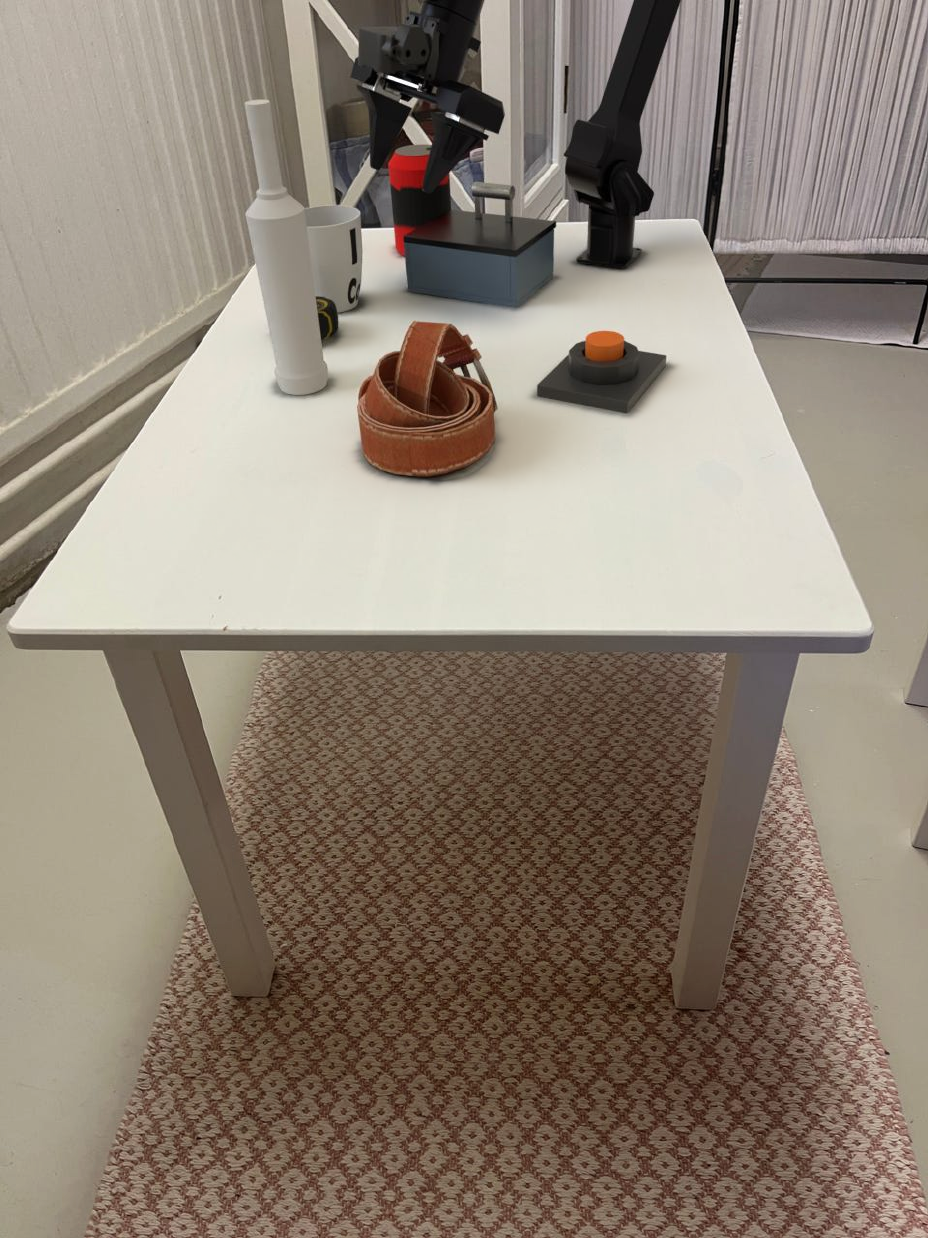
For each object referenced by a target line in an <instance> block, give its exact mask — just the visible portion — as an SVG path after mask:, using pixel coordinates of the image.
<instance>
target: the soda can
mask: <svg viewBox="0 0 928 1238" xmlns="http://www.w3.org/2000/svg"><path fill="white" fill-rule="evenodd" d="M431 146H432V144H411V145H405V146H401V147H398V148H396V149H395V151H394V153H393V154H392V157H391V158H390V159H389V162H388V163H387V165H388V177H389V186H390V187H389V188H390V199H391V210H392V222H393V231H394V244H395V250H396V251H397V252H398V253H399V254H400V255H401V256H404V257H405V250H404V243H405V242H404V239H403V236H404V235H406V234H408V233H410V232H411V231H413V230H415V229H416V228H418V227H420V226H421V225H423V224H425V223H426V222H428V221H430V220H432V219H433V218H435V217H437V216H438V215H440V214H442V213H443V212H445V211H447V210H449V209H451V210H452V198H451V177H450V176H451V175H450V173H449V174H448V175H447V176H446V177H445V178H444V179H443V180H442V182H441V183H440V184H439V185H438V186H437V187H436V188H435V189H434V191H433V192H432V193H428V192H425V191H423V190H422V185H423V179H424V174H425V170H426V166H427V162H428V158H429V154H430V150H431Z"/></svg>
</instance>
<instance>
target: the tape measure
mask: <svg viewBox="0 0 928 1238" xmlns="http://www.w3.org/2000/svg"><path fill="white" fill-rule="evenodd" d="M315 297H316V304H317V312H318V320H319V328H320V336H321V342H323V341H324V340H327V339H329V338H331V337H333V336H334V335H335V334H336V333H338V331H339V326H340V325H339V324H340V323H339V322H340V321H339V313H337V308H336V305H335V303H334V302H333V301H332V300H330V299H327V298H325V297H320V296H315Z"/></svg>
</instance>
